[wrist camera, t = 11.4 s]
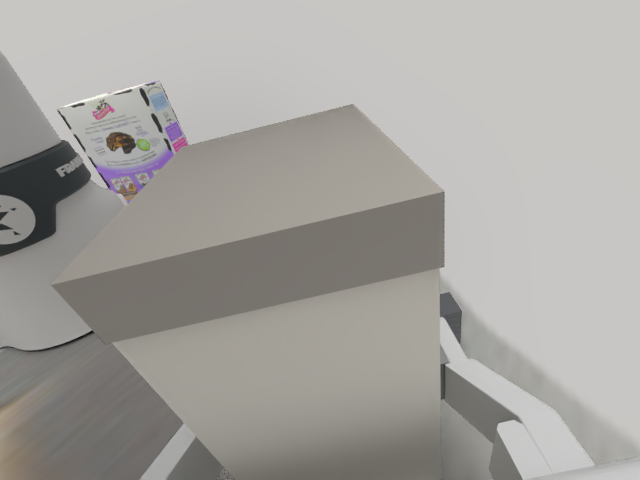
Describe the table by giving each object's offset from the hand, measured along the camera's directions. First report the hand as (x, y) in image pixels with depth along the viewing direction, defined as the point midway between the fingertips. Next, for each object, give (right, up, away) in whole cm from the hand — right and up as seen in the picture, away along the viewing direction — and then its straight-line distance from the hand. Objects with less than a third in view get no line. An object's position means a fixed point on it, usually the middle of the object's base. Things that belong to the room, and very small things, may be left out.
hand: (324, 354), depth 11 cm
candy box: (-27, +11, +44) cm, 52 cm away
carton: (+2, -6, +4) cm, 7 cm away
